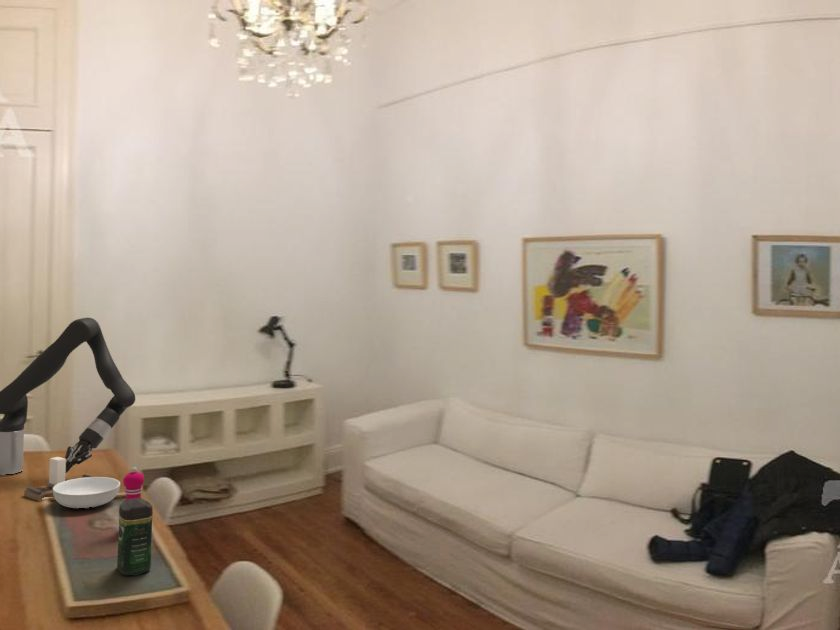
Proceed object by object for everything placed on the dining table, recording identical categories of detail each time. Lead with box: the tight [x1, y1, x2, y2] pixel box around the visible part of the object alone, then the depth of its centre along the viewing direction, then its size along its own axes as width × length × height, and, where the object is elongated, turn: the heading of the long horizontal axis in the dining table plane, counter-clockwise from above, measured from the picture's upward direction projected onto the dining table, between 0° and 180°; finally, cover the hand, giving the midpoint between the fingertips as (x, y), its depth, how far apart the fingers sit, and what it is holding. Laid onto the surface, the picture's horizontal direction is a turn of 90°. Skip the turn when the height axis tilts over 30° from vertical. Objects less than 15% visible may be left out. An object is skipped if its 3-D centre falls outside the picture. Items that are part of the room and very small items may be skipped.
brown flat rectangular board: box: [23, 474, 93, 502], centre depth 234 cm, size 22×10×3 cm, turn 150°
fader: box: [45, 456, 67, 488], centre depth 232 cm, size 4×6×10 cm
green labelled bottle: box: [116, 498, 154, 576], centre depth 171 cm, size 10×8×19 cm
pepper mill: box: [122, 466, 145, 500], centre depth 198 cm, size 7×7×20 cm
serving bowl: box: [53, 476, 121, 509], centre depth 221 cm, size 21×21×7 cm
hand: (62, 471), depth 233 cm, fingers closed
